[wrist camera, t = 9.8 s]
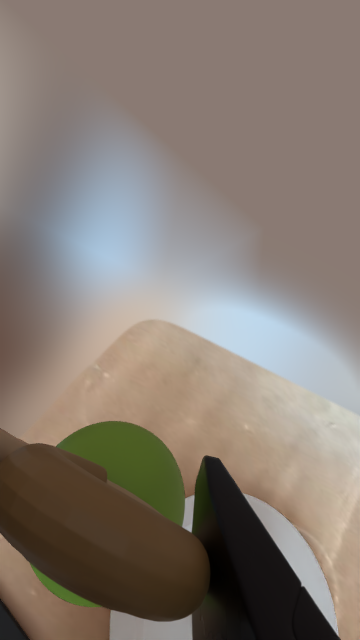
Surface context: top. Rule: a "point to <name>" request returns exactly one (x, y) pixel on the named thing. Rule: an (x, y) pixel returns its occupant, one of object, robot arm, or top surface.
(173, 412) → the top surface
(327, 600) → the candle holder
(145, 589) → the snail figurine
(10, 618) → the coaster
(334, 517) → the top surface
